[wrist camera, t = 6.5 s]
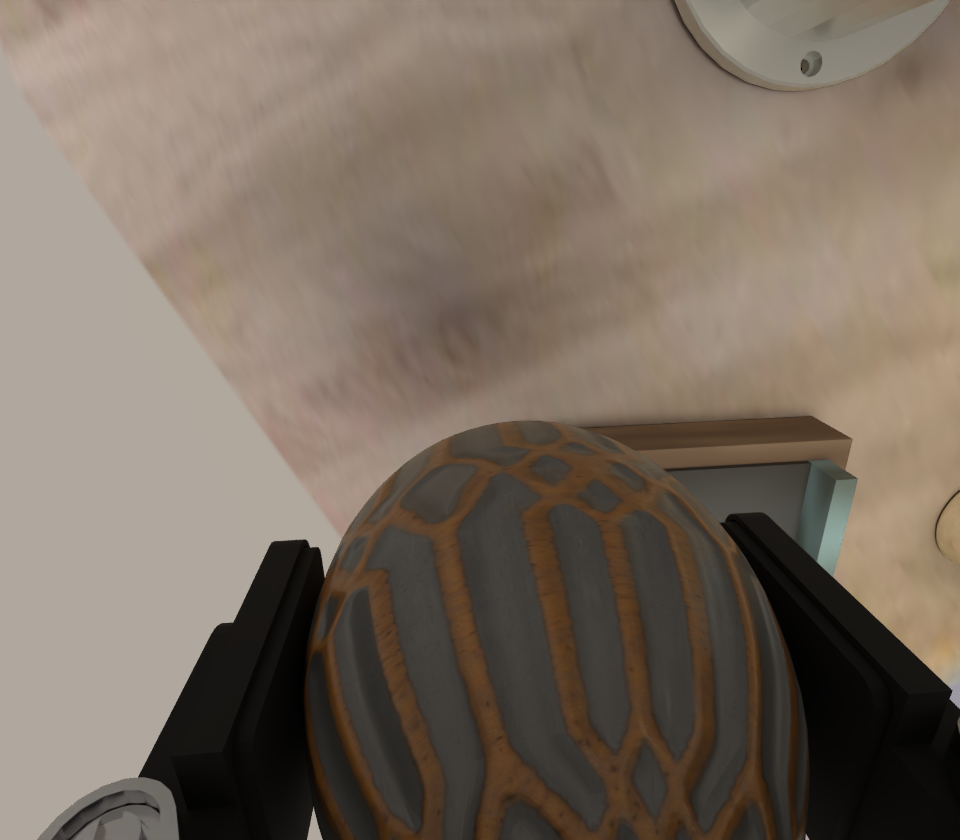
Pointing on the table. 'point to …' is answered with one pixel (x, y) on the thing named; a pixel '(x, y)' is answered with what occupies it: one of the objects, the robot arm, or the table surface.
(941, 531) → the beer glass
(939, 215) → the table surface
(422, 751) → the vase
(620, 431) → the dock
